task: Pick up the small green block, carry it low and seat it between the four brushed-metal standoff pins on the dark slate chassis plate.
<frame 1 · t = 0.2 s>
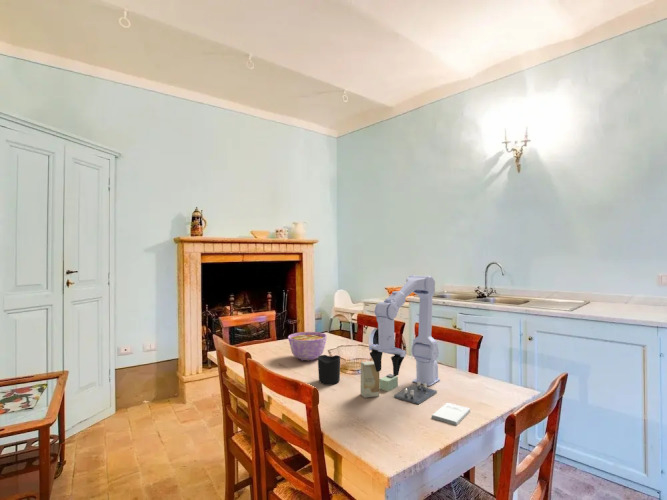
hand: (387, 373, 130), 10 cm above the table, fingers open, 7 cm apart
chassis: (415, 394, 134), on the table
skincare box: (370, 395, 135), on the table, touching gripper
external hard drive: (451, 416, 118), on the table
green block: (388, 387, 143), on the table
pen holder: (329, 381, 151), on the table
bowl of food: (307, 359, 184), on the table
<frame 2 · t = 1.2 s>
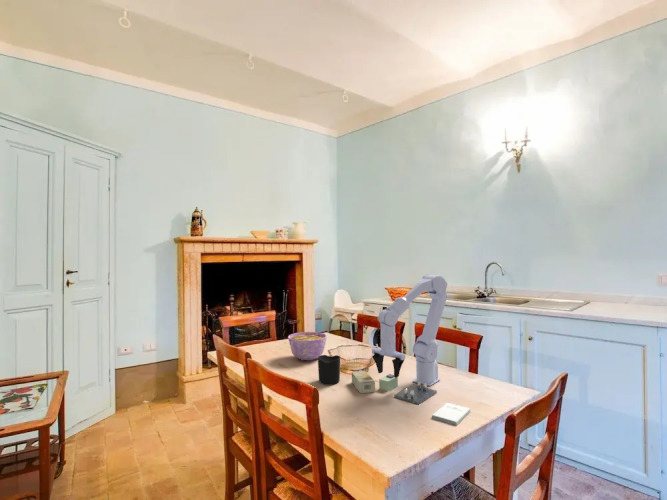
hand: (388, 374, 143), 5 cm above the table, fingers open, 7 cm apart
skincare box: (368, 387, 137), point 2 cm above the table
everything else where it was.
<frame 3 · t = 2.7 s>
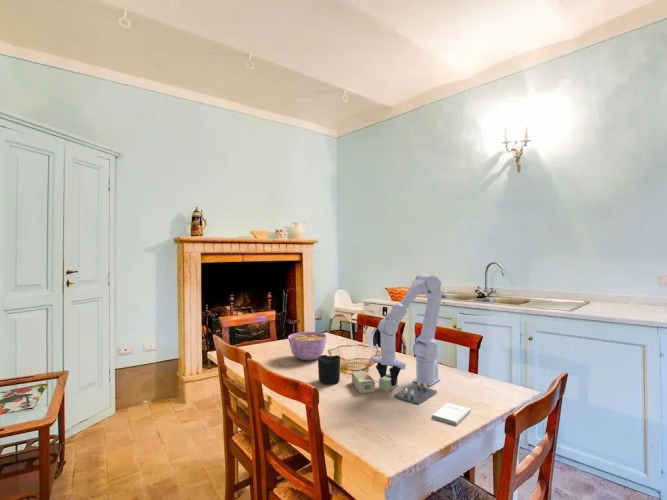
hand: (388, 383, 143), 1 cm above the table, fingers closed on green block, 4 cm apart
green block: (388, 387, 142), on the table, touching gripper
everything else where it was.
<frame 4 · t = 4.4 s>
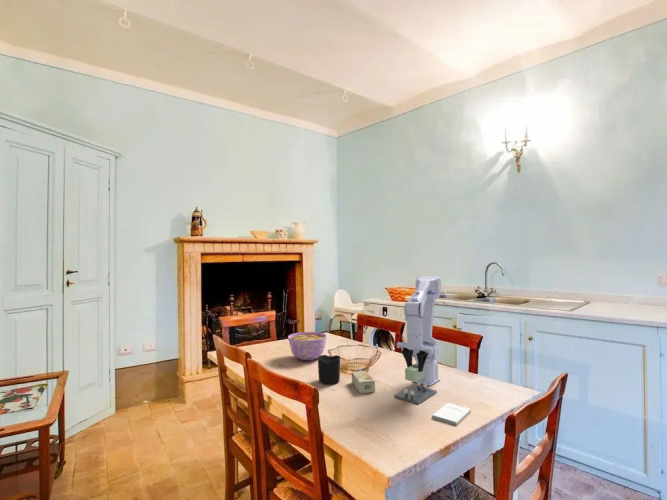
hand: (415, 369, 135), 9 cm above the table, fingers closed on green block, 4 cm apart
green block: (414, 378, 134), point 6 cm above the table, touching gripper
everything else where it was.
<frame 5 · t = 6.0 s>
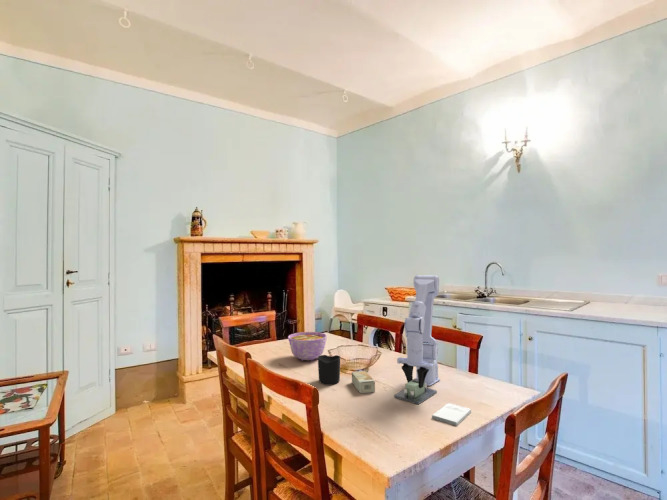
hand: (415, 385, 134), 3 cm above the table, fingers closed on green block, 4 cm apart
green block: (415, 393, 134), point 1 cm above the table, touching chassis, gripper
everything else where it was.
when the fingers open (3 cm above the table, at t = 6.6 s): green block stays where it is, resting on chassis.
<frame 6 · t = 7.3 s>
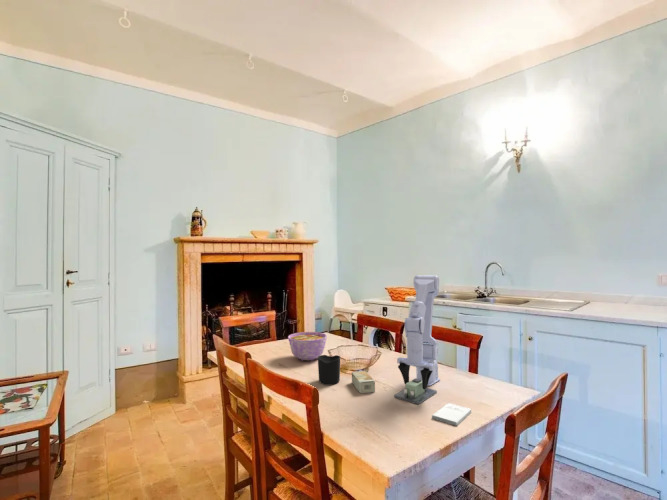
hand: (415, 385, 135), 3 cm above the table, fingers open, 7 cm apart
green block: (415, 393, 134), point 1 cm above the table, touching chassis
everything else where it was.
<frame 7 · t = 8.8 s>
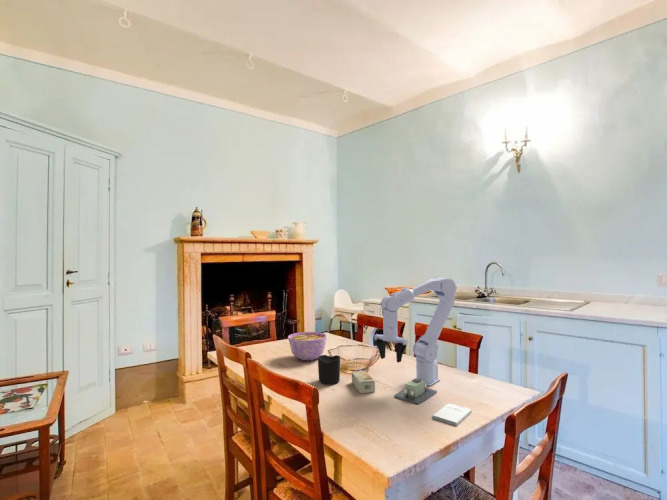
hand: (390, 360, 144), 10 cm above the table, fingers open, 7 cm apart
nothing on the table moved.
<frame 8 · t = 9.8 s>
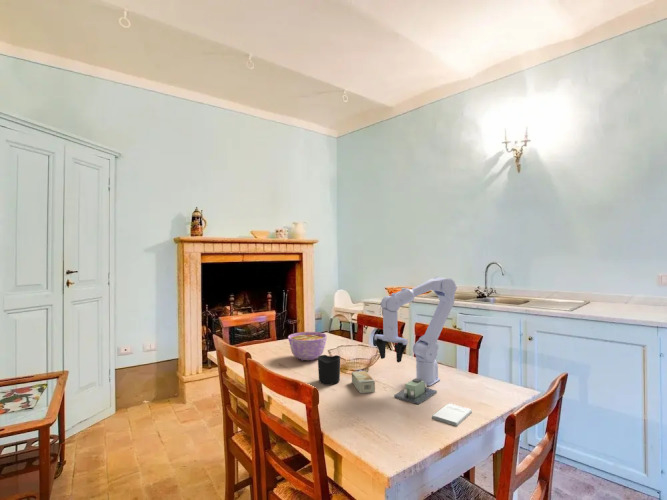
hand: (390, 360, 144), 10 cm above the table, fingers open, 7 cm apart
nothing on the table moved.
at the end: green block 0.5 cm off-centre on the chassis, point 0.8 cm above the chassis's base; green block tilted 0°; the gripper is holding nothing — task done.
